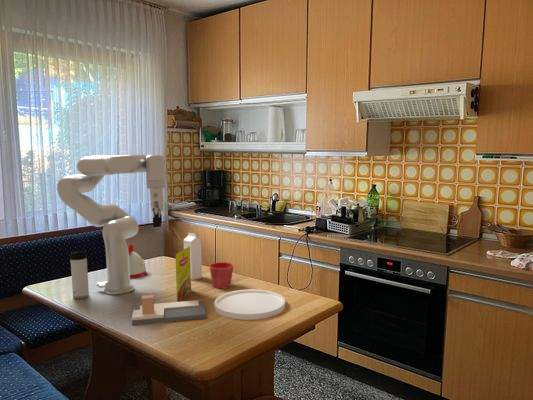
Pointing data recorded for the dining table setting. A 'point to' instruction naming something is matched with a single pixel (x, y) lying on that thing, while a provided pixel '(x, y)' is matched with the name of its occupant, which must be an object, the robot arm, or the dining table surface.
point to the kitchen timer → (136, 264)
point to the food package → (183, 273)
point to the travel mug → (79, 275)
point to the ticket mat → (176, 312)
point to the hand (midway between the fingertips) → (157, 224)
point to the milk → (194, 255)
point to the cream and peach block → (148, 309)
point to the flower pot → (221, 274)
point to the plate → (249, 304)
